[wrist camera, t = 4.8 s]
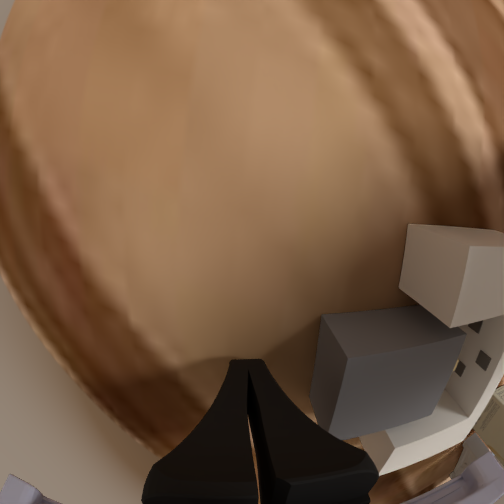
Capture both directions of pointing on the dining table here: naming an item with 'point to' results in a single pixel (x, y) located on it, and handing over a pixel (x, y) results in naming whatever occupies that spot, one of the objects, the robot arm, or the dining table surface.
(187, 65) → the dining table surface
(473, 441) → the light switch
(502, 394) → the skincare box
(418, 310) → the plug
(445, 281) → the socket block
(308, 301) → the dining table surface
